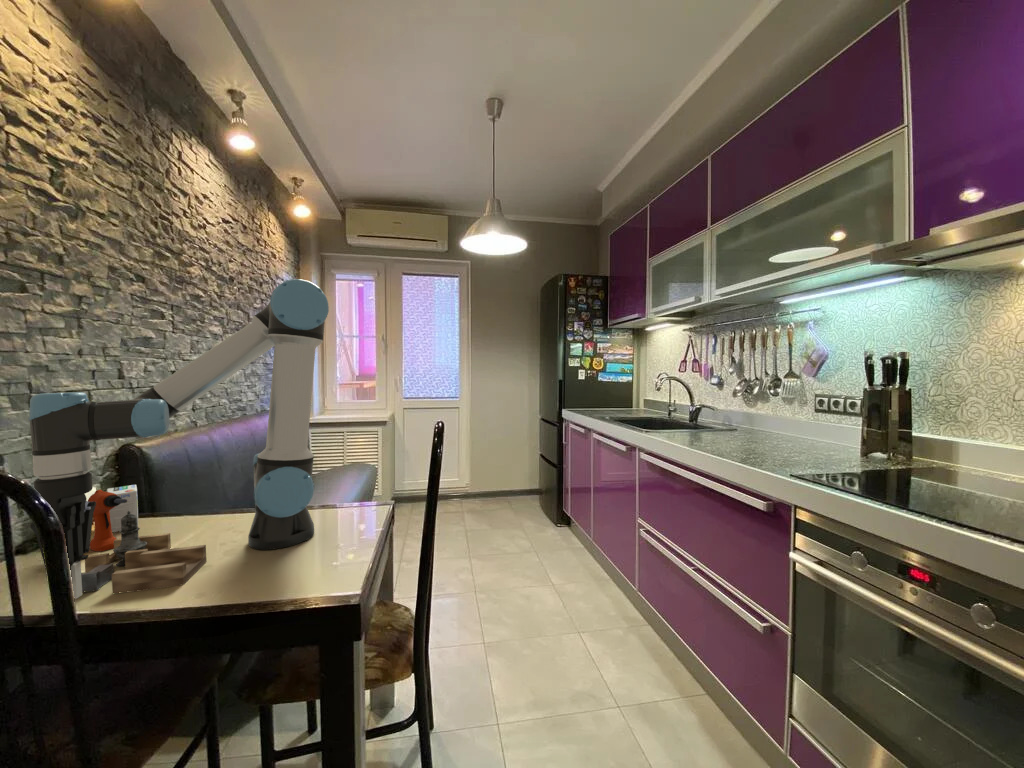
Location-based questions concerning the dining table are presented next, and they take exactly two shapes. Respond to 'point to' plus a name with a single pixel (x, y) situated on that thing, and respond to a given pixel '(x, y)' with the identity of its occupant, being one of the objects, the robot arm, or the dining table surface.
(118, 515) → the light bulb box
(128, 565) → the socket frame
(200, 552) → the rack
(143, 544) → the chess piece
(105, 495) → the toy drill
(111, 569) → the bar
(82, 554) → the robot arm
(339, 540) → the dining table surface
